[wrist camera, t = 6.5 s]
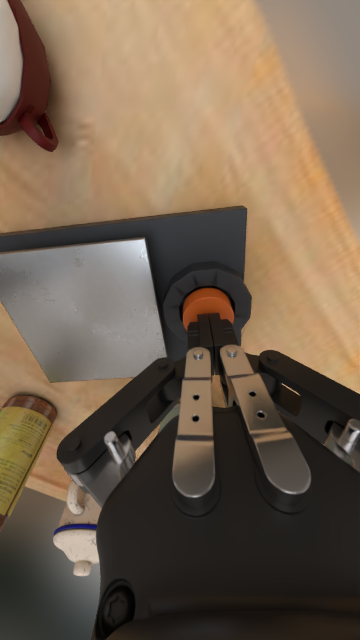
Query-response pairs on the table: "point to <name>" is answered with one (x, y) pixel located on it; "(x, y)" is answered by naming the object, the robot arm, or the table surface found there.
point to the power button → (206, 305)
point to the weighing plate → (85, 308)
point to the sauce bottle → (21, 445)
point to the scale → (170, 259)
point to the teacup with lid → (79, 530)
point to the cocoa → (23, 77)
